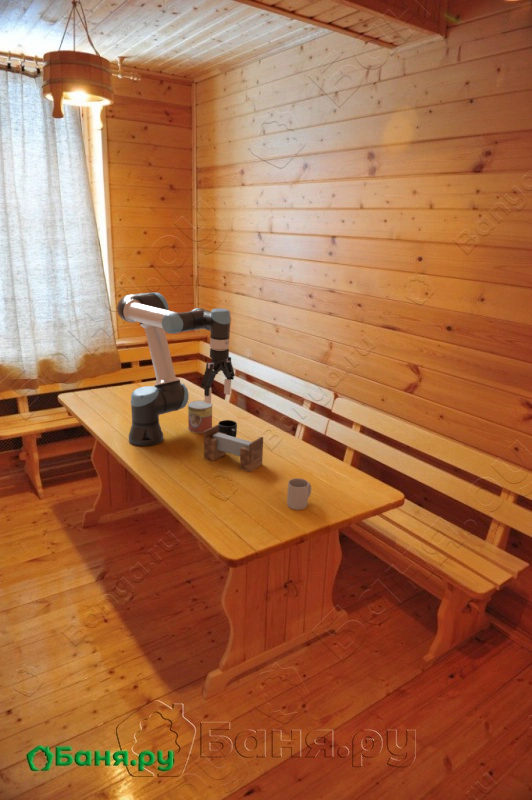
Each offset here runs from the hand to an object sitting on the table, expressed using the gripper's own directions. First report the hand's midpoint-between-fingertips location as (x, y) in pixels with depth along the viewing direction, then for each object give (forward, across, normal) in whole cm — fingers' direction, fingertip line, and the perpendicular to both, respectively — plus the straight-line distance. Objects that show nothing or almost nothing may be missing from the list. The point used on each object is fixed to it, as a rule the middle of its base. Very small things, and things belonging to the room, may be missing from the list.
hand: (217, 398), depth 234 cm
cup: (+23, -18, -50) cm, 58 cm away
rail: (+21, -2, -10) cm, 23 cm away
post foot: (+24, -2, -19) cm, 31 cm away
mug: (+26, +12, +1) cm, 28 cm away
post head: (+25, -2, -1) cm, 25 cm away
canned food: (+26, +20, +23) cm, 40 cm away
